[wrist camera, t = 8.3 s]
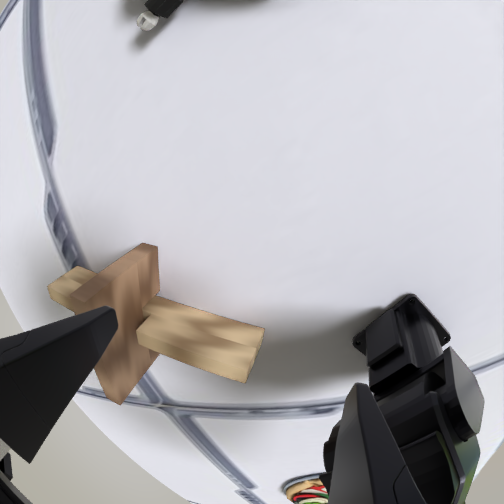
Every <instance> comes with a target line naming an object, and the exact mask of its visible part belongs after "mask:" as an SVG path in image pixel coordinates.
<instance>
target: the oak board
mask: <svg viewBox="0 0 504 504" xmlns="http://www.w3.org/2000/svg"><path fill="white" fill-rule="evenodd" d="M95 275H97V273H95V272H92V271H90V270H87V269H85V268H82V267H80V266H76V267H75V268H73V269H72V270H70V271H69V272H67V273H66V274H64V275H63V276H61V277H60V278H58V279H57V280H55V281H54V282H52V283H51V284H50V285H48V286H47V287H48V291H49V294H50V297H51V299H52V300H54V301H56V302H57V303H59V304H61V305H63V306H64V307H66V308H68V309H70V310H71V311H73V312H74V309H73V306H72V302H71V299H70V294H71V293H72V292H74V291H75V290H76V289H78V288H79V287H80V286H82V285H83V284H84V283H86V282H87V281H89V280H90V279H91V278H93V277H94V276H95ZM142 311H143V318H144V322H143V324H142V325H141V326H140V327H139V328H138V329H137V330H136V333H137V338H138V343H139V344H140V345H142V346H144V347H146V348H149V349H151V350H153V351H156V352H158V353H161V354H163V355H165V356H168V357H170V358H173V359H176V360H178V361H181V362H183V363H186V364H189V365H191V366H194V367H197V368H200V369H202V370H205V371H208V372H211V373H214V374H217V375H220V376H223V377H226V378H229V379H232V380H236V381H239V382H242V383H246V381H247V378H248V376H249V373H250V371H251V368H252V366H253V363H254V361H255V359H256V356H257V354H258V351H259V349H260V346H261V343H262V340H263V335H264V330H265V329H264V328H260V327H256V326H253V325H249V324H246V323H242V322H238V321H235V320H232V319H228V318H225V317H221V316H218V315H215V314H211V313H208V312H205V311H202V310H199V309H195V308H192V307H189V306H186V305H183V304H180V303H177V302H174V301H171V300H168V299H165V298H162V297H159V296H156V295H155V296H154V297H153V298H152V299H151V300H150V301H149V302H148V303H147V304H146V305H145V306H144V307H143V308H142Z"/></svg>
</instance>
